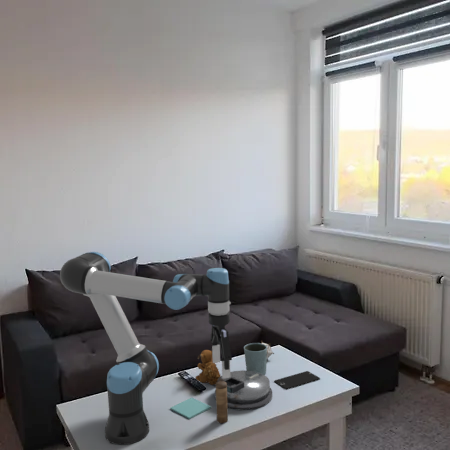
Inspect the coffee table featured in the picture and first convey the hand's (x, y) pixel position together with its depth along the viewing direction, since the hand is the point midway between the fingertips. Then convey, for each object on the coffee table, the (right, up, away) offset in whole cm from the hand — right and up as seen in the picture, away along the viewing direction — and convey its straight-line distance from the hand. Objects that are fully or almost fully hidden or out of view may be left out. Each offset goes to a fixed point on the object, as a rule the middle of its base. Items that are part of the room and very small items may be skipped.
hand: (221, 369), depth 179 cm
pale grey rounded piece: (+20, -11, +56) cm, 60 cm away
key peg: (0, -19, +3) cm, 19 cm away
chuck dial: (+9, -15, +21) cm, 27 cm away
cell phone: (+32, -15, +33) cm, 48 cm away
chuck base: (+9, -16, +21) cm, 28 cm away
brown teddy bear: (-5, -15, +34) cm, 38 cm away
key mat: (-12, -18, +12) cm, 25 cm away
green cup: (+15, -14, +41) cm, 46 cm away
